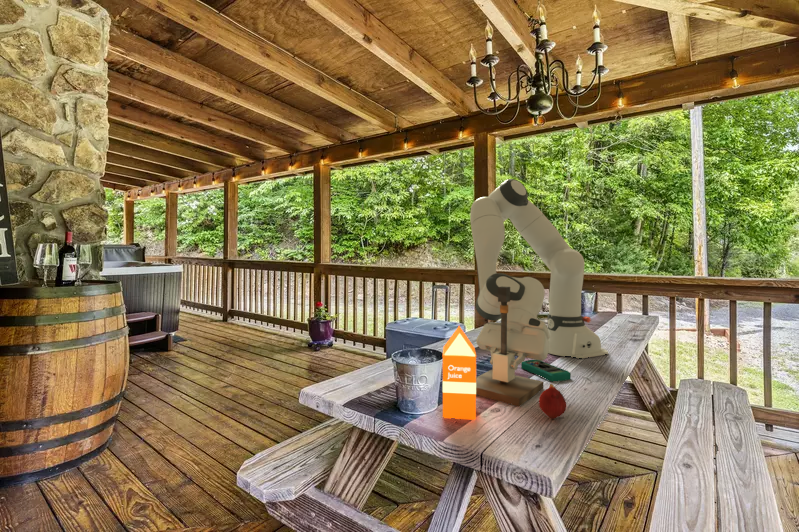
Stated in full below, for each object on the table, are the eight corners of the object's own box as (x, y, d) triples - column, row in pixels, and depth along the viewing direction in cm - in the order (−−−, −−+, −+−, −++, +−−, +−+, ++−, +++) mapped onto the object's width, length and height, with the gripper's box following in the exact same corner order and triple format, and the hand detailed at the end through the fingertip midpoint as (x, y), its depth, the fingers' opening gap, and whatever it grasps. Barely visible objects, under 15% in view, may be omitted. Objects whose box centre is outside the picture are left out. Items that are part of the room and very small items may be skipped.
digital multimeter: (537, 366, 126) (537, 358, 126) (571, 381, 112) (572, 371, 112) (519, 369, 124) (519, 360, 124) (552, 384, 110) (552, 374, 110)
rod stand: (490, 376, 115) (491, 283, 114) (543, 388, 105) (544, 286, 104) (463, 391, 103) (463, 287, 102) (519, 406, 93) (520, 291, 92)
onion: (569, 418, 86) (570, 384, 86) (560, 427, 82) (561, 391, 82) (544, 411, 90) (544, 378, 90) (534, 419, 86) (534, 384, 86)
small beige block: (499, 374, 107) (500, 350, 107) (514, 378, 104) (514, 353, 104) (492, 378, 104) (492, 353, 104) (507, 382, 101) (507, 356, 101)
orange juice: (442, 418, 87) (442, 331, 86) (443, 402, 96) (443, 324, 95) (476, 420, 86) (477, 332, 85) (474, 404, 94) (474, 325, 94)
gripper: (482, 314, 115) (465, 353, 109) (550, 323, 102) (535, 367, 95) (489, 327, 119) (473, 364, 112) (555, 336, 105) (542, 380, 99)
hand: (502, 366), depth 103 cm, fingers closed on small beige block, 4 cm apart
